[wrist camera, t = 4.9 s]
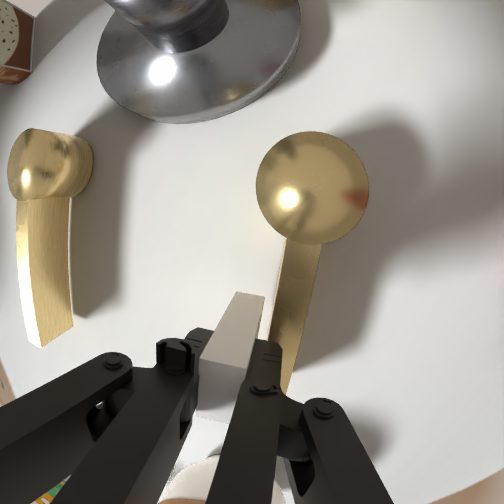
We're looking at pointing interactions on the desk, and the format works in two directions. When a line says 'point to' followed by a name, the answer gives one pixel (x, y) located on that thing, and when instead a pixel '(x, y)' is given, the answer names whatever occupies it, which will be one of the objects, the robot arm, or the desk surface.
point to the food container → (15, 43)
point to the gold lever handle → (306, 221)
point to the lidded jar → (201, 484)
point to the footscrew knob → (46, 224)
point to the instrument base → (195, 55)
